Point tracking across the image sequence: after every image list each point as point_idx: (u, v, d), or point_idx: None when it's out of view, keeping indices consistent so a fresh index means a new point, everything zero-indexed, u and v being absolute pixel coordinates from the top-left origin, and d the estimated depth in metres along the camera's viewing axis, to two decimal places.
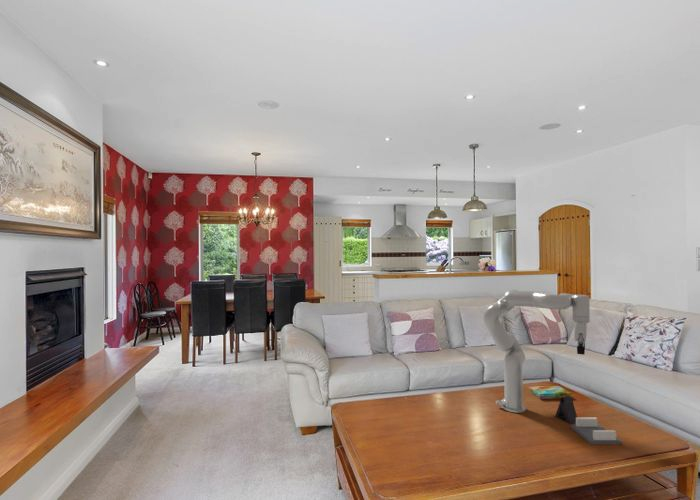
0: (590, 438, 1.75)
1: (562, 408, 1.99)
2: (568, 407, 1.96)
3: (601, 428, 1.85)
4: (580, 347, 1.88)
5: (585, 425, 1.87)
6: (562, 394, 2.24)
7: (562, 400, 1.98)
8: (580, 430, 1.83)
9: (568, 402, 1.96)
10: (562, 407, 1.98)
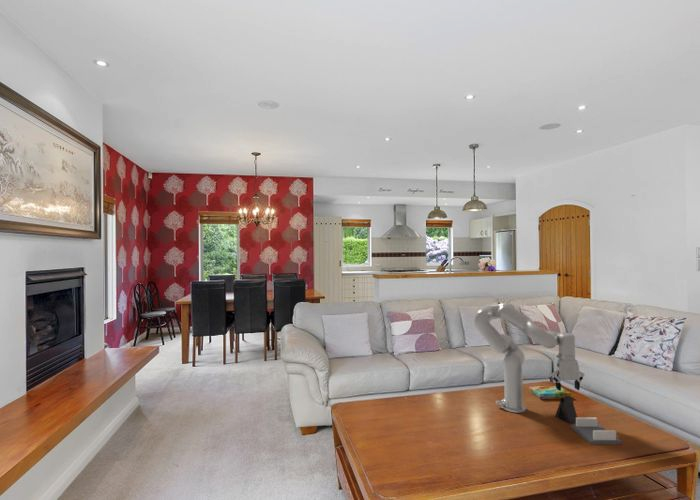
0: (590, 438, 1.75)
1: (562, 408, 1.99)
2: (568, 407, 1.96)
3: (601, 428, 1.85)
4: None
5: (585, 425, 1.87)
6: (561, 394, 2.24)
7: (562, 400, 1.98)
8: (580, 430, 1.83)
9: (568, 402, 1.96)
10: (562, 407, 1.98)
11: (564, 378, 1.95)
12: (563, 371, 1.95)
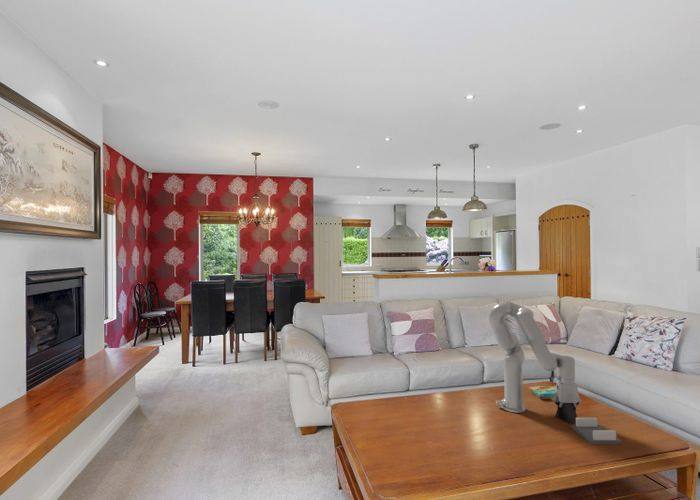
0: (590, 438, 1.75)
1: None
2: (568, 407, 1.96)
3: (601, 428, 1.85)
4: None
5: (585, 425, 1.87)
6: None
7: None
8: (580, 430, 1.83)
9: None
10: (562, 407, 1.98)
11: (563, 401, 1.95)
12: (563, 394, 1.95)
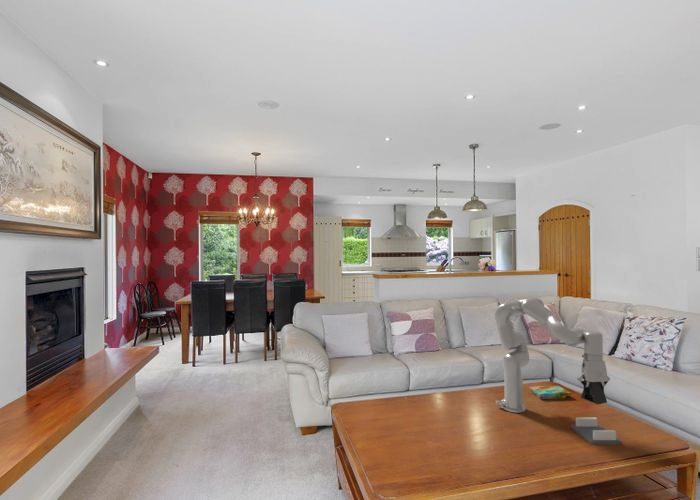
0: (590, 438, 1.75)
1: None
2: (596, 387, 1.79)
3: (601, 428, 1.85)
4: None
5: (585, 425, 1.87)
6: (562, 394, 2.24)
7: None
8: (580, 430, 1.83)
9: None
10: (589, 387, 1.82)
11: (590, 380, 1.79)
12: (590, 373, 1.79)
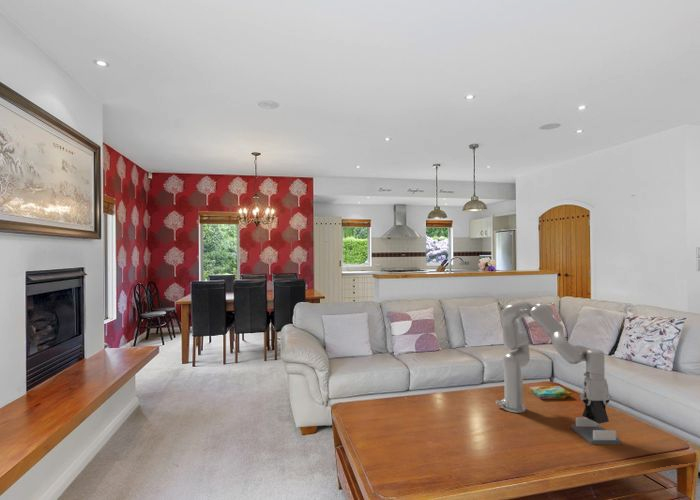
0: (590, 438, 1.75)
1: None
2: (598, 405, 1.78)
3: (601, 428, 1.85)
4: None
5: (585, 425, 1.87)
6: (562, 394, 2.24)
7: None
8: (580, 430, 1.83)
9: None
10: (590, 405, 1.81)
11: (592, 399, 1.78)
12: (591, 391, 1.78)
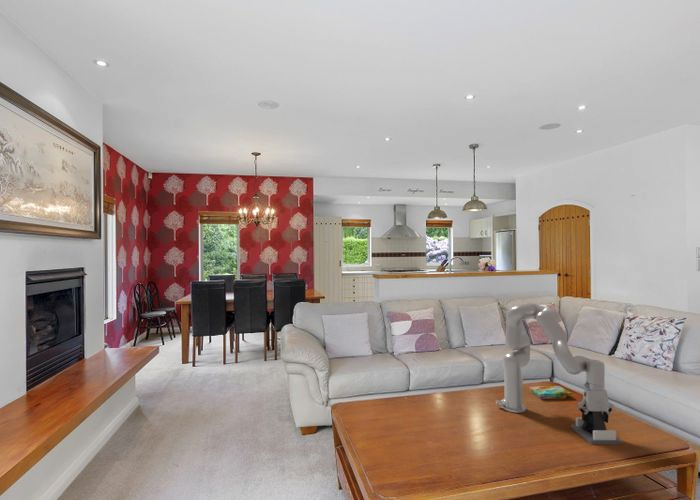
0: (590, 438, 1.75)
1: (590, 420, 1.82)
2: (597, 419, 1.79)
3: None
4: None
5: None
6: (562, 394, 2.24)
7: (590, 411, 1.81)
8: (580, 430, 1.83)
9: (596, 413, 1.79)
10: (590, 419, 1.82)
11: (592, 409, 1.78)
12: (591, 402, 1.78)
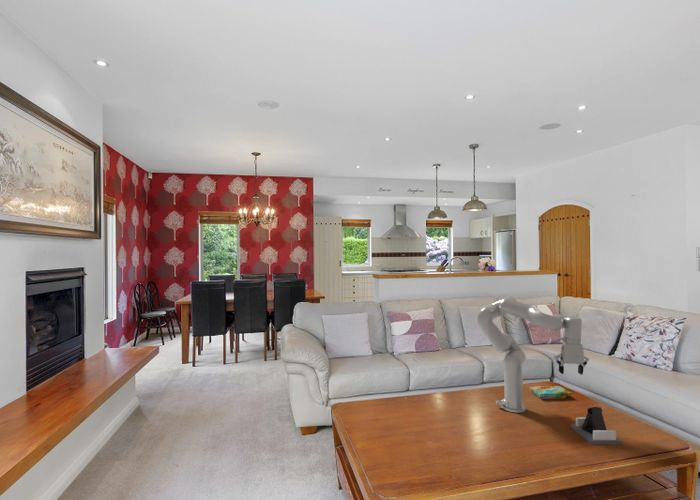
0: (590, 438, 1.75)
1: (590, 420, 1.82)
2: (597, 419, 1.79)
3: None
4: None
5: None
6: (562, 394, 2.24)
7: (590, 411, 1.81)
8: (580, 430, 1.83)
9: (596, 413, 1.79)
10: (590, 419, 1.82)
11: (568, 361, 1.92)
12: (567, 355, 1.92)
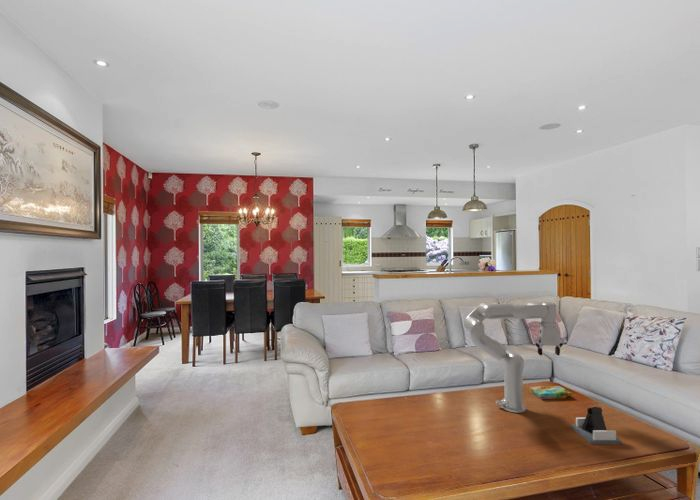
0: (590, 438, 1.75)
1: (590, 420, 1.82)
2: (597, 419, 1.79)
3: None
4: None
5: None
6: (562, 394, 2.24)
7: (590, 411, 1.81)
8: (580, 430, 1.83)
9: (596, 413, 1.79)
10: (590, 419, 1.82)
11: (545, 344, 2.09)
12: (545, 337, 2.09)
